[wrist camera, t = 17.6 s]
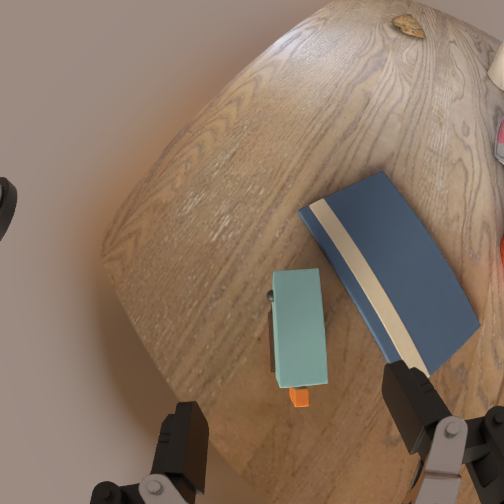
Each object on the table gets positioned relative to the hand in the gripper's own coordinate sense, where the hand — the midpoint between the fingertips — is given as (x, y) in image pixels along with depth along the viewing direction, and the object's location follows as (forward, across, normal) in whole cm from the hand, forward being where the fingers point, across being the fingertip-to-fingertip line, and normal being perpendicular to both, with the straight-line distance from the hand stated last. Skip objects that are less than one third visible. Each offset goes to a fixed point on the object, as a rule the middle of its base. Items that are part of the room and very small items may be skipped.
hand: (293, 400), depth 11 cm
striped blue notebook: (+12, -11, +2) cm, 16 cm away
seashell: (+45, -41, -33) cm, 69 cm away
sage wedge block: (+9, -1, +4) cm, 10 cm away
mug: (+37, -62, -22) cm, 75 cm away
